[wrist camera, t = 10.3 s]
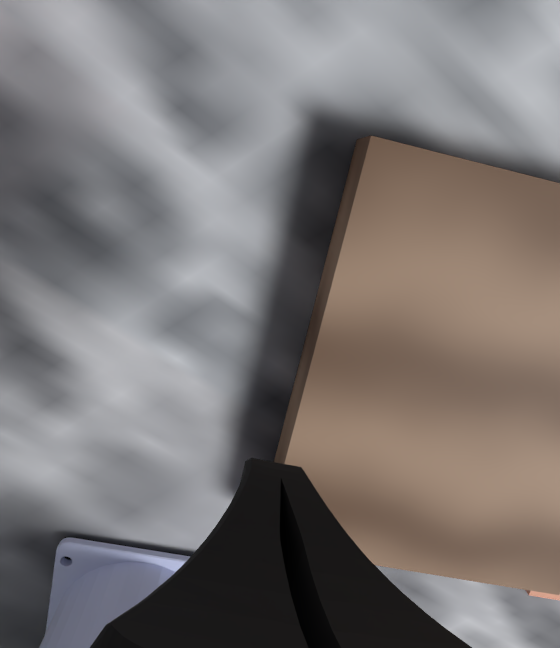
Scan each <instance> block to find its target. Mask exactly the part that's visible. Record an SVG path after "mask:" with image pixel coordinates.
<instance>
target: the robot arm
mask: <svg viewBox="0 0 560 648" xmlns="http://www.w3.org/2000/svg"><path fill="white" fill-rule="evenodd" d="M65 557H69V558H71V559H72V560H68V559H65ZM39 648H472V647H470V646H469V645H467V644H466V643H465V642H463V641H462V640H461V639H459V638H458V637H456V636H455V635H454V634H452V633H451V632H450V631H448V630H447V629H445V628H444V627H443V626H442V625H440V624H439V623H438V622H436V621H435V620H434V619H433V618H431V617H430V616H429V615H428V614H426V613H425V612H424V611H423V610H422V609H421V608H419V607H418V606H417V605H416V604H415V603H414V602H412V601H411V600H410V599H409V598H408V597H407V596H406V595H404V594H403V593H402V592H401V591H400V590H399V589H398V588H397V587H396V586H395V585H394V584H392V583H391V582H390V581H389V580H388V579H387V577H386V576H385V575H384V574H383V573H382V572H381V571H380V570H379V569H378V568H377V567H376V566H375V565H374V564H373V563H372V562H371V561H370V560H369V559H368V558H367V557H366V555H365V554H364V553H363V552H362V551H361V550H360V548H359V547H358V546H357V545H356V544H355V542H354V541H353V540H352V539H351V538H350V536H349V535H348V534H347V533H346V531H345V530H344V529H343V527H342V526H341V525H340V523H339V522H338V521H337V519H336V518H335V517H334V515H333V514H332V512H331V511H330V510H329V508H328V507H327V505H326V504H325V502H324V501H323V499H322V498H321V496H320V495H319V493H318V492H317V490H316V489H315V487H314V486H313V484H312V483H311V481H310V479H309V478H308V476H307V475H306V473H305V472H304V470H303V469H302V467H298V466H293V465H287V464H282V463H276V462H271V461H265V460H260V459H254V458H250V459H249V460H247V461H245V466H244V470H243V474H242V478H241V482H240V486H239V488H238V490H237V492H236V494H235V496H234V498H233V500H232V502H231V504H230V505H229V507H228V509H227V510H226V512H225V513H224V515H223V516H222V518H221V519H220V521H219V522H218V524H217V525H216V527H215V528H214V529H213V531H212V532H211V533H210V535H209V536H208V537H207V539H206V540H205V541H204V542H203V543H202V545H201V546H200V547H199V548H198V549H197V551H196V552H195V553H194V554H193V555H192V556H191V557H190V556H184V555H178V554H172V553H165V552H159V551H153V550H147V549H140V548H134V547H128V546H122V545H115V544H109V543H103V542H96V541H90V540H84V539H78V538H64V539H62V540H61V541H60V543H59V545H58V547H57V549H56V556H55V564H54V571H53V579H52V587H51V594H50V602H49V610H48V617H47V625H46V632H45V636H44V638H43V640H42V643H41V645H40V647H39Z"/></svg>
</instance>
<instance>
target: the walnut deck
mask: <svg viewBox="0 0 560 648" xmlns="http://www.w3.org/2000/svg"><path fill="white" fill-rule="evenodd" d="M274 462H276V463H282V464H287V465H293V466H298V467H302V469H303V470H304V472H305V473H306V475H307V476H308V478H309V479H310V481H311V483H312V484H313V486H314V487H315V489H316V490H317V492H318V493H319V495H320V496H321V498H322V499H323V501H324V502H325V504H326V505H327V507H328V508H329V510H330V511H331V512H332V514H333V515H334V517H335V518H336V519H337V521H338V522H339V523H340V525H341V526H342V527H343V529H344V530H345V531H346V533H347V534H348V535H349V536H350V538H351V539H352V540H353V541H354V542H355V544H356V545H357V546H358V547H359V548H360V550H361V551H362V552H363V553H364V554H365V555H366V557H367V558H368V559H369V560H370V561H371V562H372V563H373V564H374V565H378V566H384V567H390V568H396V569H402V570H408V571H414V572H420V573H427V574H433V575H439V576H445V577H451V578H457V579H463V580H469V581H475V582H481V583H488V584H494V585H500V586H506V587H512V588H518V589H524V590H530V591H536V592H542V593H549V594H555V595H559V594H560V183H557V182H553V181H549V180H545V179H541V178H537V177H533V176H529V175H525V174H521V173H517V172H513V171H509V170H505V169H502V168H498V167H494V166H490V165H486V164H482V163H478V162H474V161H470V160H466V159H462V158H458V157H454V156H450V155H446V154H442V153H438V152H434V151H430V150H426V149H422V148H418V147H414V146H411V145H407V144H403V143H399V142H395V141H391V140H387V139H383V138H379V137H375V136H368V137H364V138H360V139H357V141H356V145H355V149H354V153H353V156H352V160H351V164H350V168H349V172H348V176H347V180H346V184H345V188H344V191H343V195H342V199H341V203H340V207H339V211H338V215H337V219H336V222H335V226H334V230H333V234H332V238H331V242H330V246H329V250H328V254H327V257H326V261H325V265H324V269H323V273H322V277H321V281H320V285H319V289H318V292H317V296H316V300H315V304H314V308H313V312H312V316H311V320H310V323H309V327H308V331H307V335H306V339H305V343H304V347H303V351H302V355H301V358H300V362H299V366H298V370H297V374H296V378H295V382H294V386H293V390H292V393H291V397H290V401H289V405H288V409H287V413H286V417H285V421H284V424H283V428H282V432H281V436H280V440H279V444H278V448H277V452H276V456H275V459H274Z"/></svg>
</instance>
